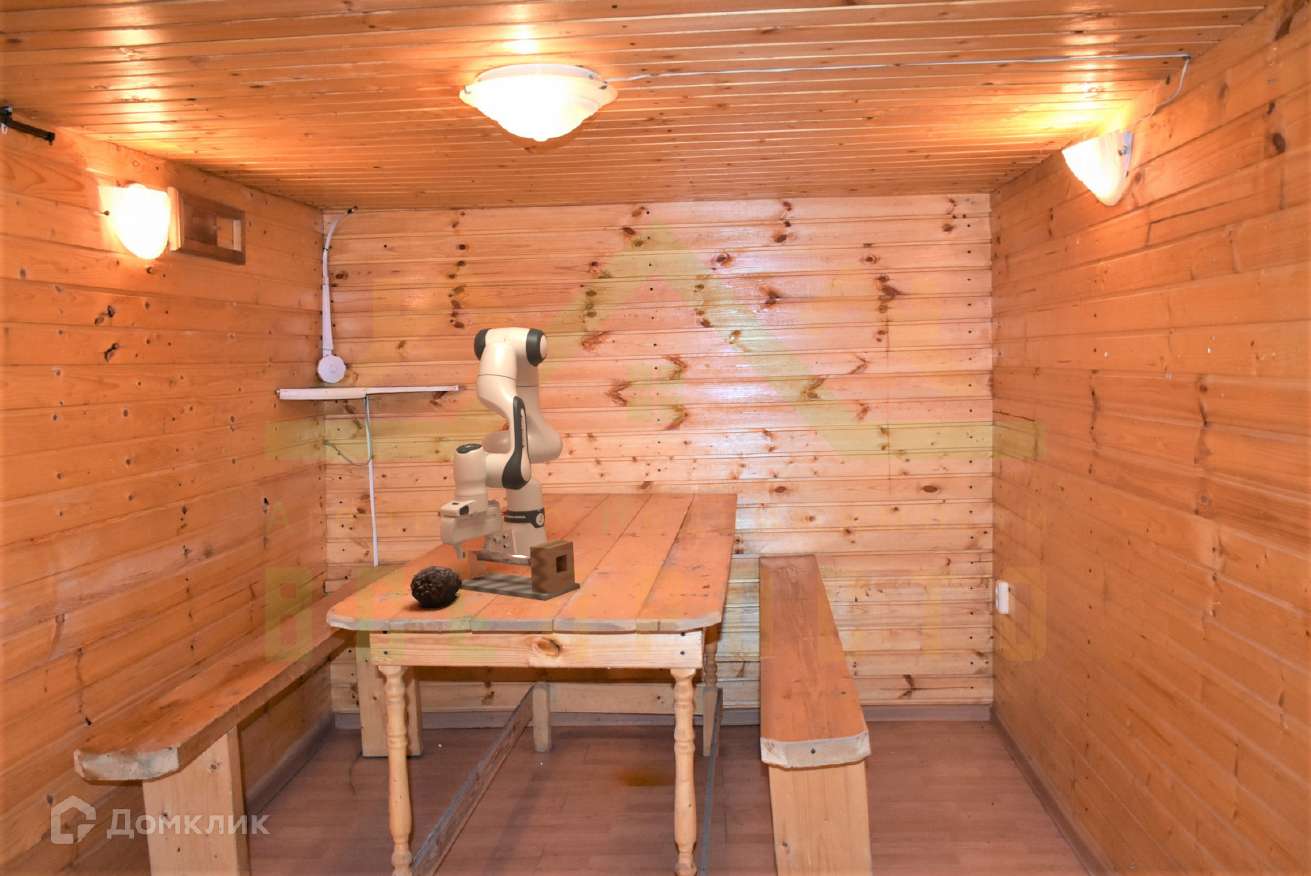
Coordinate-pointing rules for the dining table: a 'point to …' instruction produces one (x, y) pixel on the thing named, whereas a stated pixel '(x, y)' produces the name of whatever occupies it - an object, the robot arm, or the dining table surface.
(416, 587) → the pine cone
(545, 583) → the eye post
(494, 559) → the hook rod
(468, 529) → the robot arm
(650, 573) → the dining table surface
